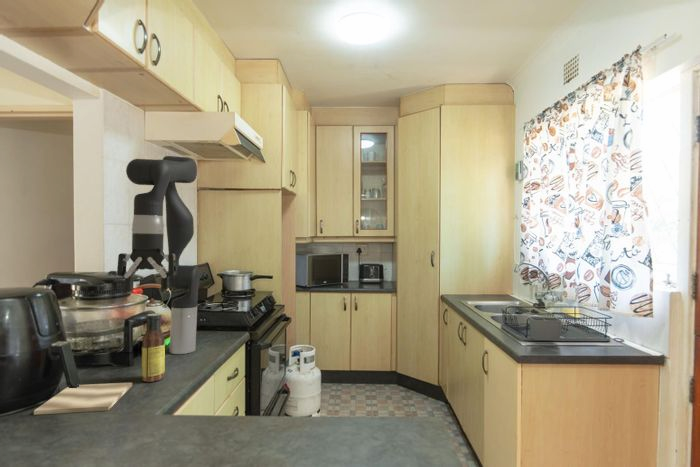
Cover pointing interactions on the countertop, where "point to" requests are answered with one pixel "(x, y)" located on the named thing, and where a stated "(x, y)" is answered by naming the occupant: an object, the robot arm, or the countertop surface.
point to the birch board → (84, 398)
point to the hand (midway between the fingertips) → (146, 291)
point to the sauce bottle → (153, 350)
